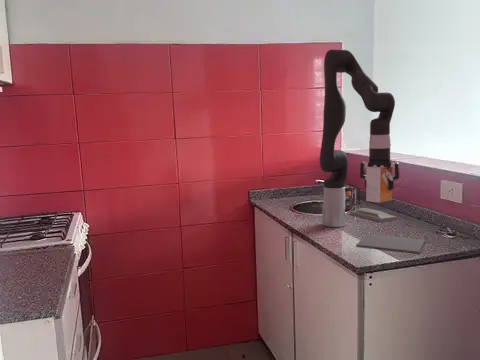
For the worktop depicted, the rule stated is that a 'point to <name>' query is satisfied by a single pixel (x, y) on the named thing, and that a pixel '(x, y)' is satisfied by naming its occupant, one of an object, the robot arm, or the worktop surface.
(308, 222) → the worktop surface
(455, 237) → the worktop surface
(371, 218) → the soap mold
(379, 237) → the mat
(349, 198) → the supplement bottle
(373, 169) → the small box
